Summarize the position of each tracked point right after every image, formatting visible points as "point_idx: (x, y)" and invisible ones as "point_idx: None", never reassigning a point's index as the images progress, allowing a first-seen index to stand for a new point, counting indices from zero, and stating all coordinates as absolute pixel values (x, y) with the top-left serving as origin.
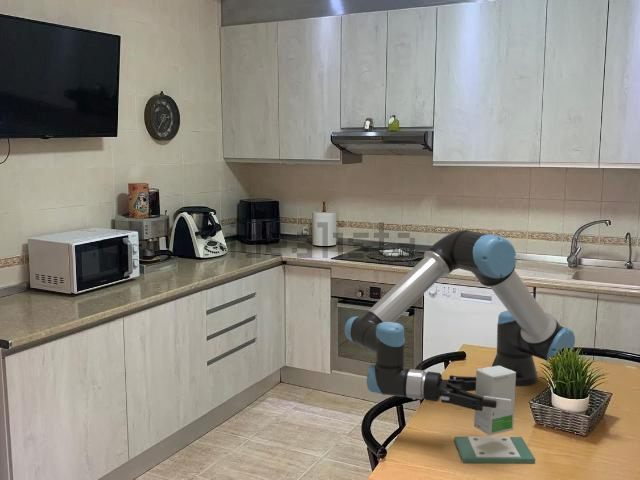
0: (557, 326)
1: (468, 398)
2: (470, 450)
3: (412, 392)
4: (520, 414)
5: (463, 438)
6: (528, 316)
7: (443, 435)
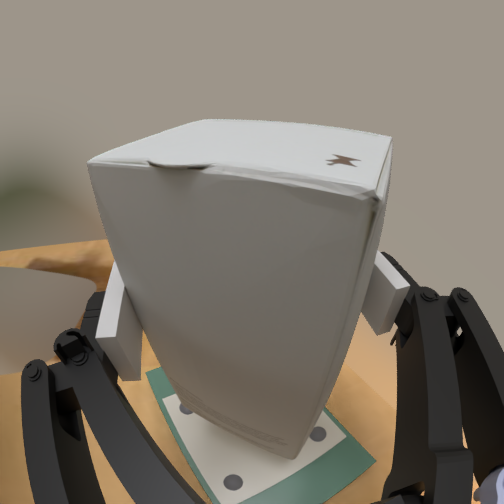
0: None
1: (489, 332)
2: (315, 470)
3: None
4: (13, 386)
5: None
6: None
7: None
